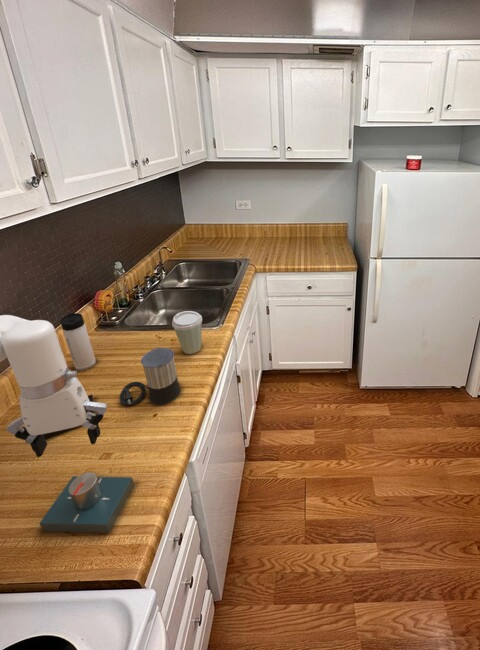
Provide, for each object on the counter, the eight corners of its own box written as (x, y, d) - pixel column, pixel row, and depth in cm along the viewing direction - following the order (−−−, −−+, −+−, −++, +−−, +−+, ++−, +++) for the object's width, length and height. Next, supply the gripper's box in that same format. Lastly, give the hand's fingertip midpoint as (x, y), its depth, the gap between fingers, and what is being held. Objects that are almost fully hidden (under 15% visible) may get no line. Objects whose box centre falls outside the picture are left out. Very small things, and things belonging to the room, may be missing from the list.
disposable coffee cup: (209, 341, 132) (205, 308, 126) (202, 359, 122) (197, 324, 116) (183, 342, 132) (177, 309, 126) (173, 359, 122) (166, 324, 116)
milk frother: (186, 394, 106) (179, 356, 100) (134, 424, 95) (123, 383, 89) (166, 373, 115) (158, 337, 109) (116, 399, 104) (105, 360, 98)
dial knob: (85, 486, 75) (79, 470, 73) (106, 487, 75) (101, 471, 73) (69, 510, 71) (62, 493, 69) (91, 511, 70) (85, 494, 68)
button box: (43, 441, 89) (38, 430, 88) (45, 416, 97) (41, 406, 96) (95, 421, 96) (92, 411, 94) (94, 399, 103) (90, 389, 102)
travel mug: (96, 357, 123) (82, 310, 115) (96, 367, 118) (82, 318, 110) (75, 363, 119) (60, 315, 112) (75, 373, 114) (58, 324, 107)
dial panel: (43, 532, 69) (38, 522, 68) (76, 484, 79) (72, 475, 77) (109, 533, 69) (106, 524, 68) (134, 485, 78) (132, 476, 77)
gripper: (101, 360, 70) (118, 421, 77) (1, 377, 65) (28, 440, 72) (91, 385, 64) (111, 448, 70) (-21, 406, 59) (11, 472, 65)
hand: (69, 444), depth 71 cm, fingers open, 9 cm apart
